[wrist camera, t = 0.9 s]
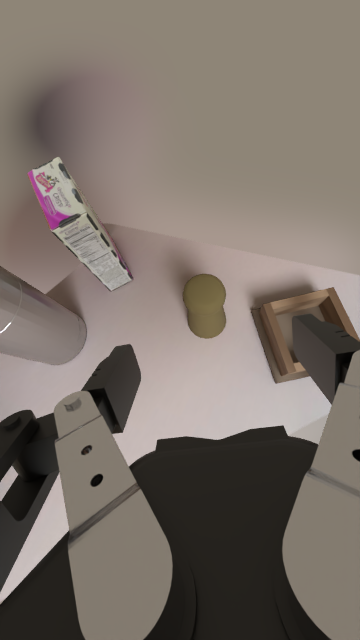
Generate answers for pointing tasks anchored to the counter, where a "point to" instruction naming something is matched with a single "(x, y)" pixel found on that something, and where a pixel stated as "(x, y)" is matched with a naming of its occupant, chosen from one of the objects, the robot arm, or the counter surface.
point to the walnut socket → (278, 328)
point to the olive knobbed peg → (205, 305)
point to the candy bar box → (77, 223)
